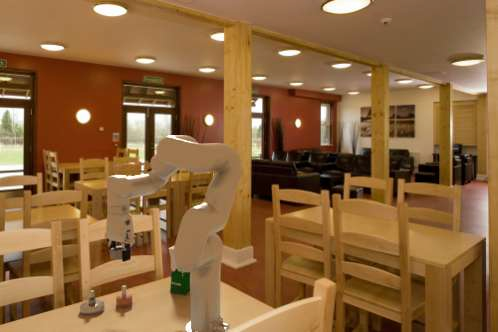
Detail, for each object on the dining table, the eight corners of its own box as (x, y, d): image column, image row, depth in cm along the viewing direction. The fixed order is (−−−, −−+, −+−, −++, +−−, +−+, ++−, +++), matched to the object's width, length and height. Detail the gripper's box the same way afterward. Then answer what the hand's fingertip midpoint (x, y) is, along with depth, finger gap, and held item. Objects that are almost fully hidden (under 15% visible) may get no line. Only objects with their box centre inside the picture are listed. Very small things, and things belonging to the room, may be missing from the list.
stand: (135, 303, 137) (135, 285, 136) (123, 309, 132) (122, 290, 132) (125, 300, 140) (125, 282, 140) (113, 305, 135) (112, 287, 135)
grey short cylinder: (133, 255, 135) (132, 247, 135) (118, 260, 130) (117, 252, 130) (121, 252, 139) (121, 244, 138) (106, 257, 133) (106, 249, 133)
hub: (109, 308, 133) (108, 289, 133) (89, 317, 126) (88, 297, 126) (95, 303, 138) (95, 284, 137) (75, 311, 131) (74, 292, 130)
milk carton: (198, 288, 151) (197, 240, 149) (184, 297, 143) (183, 246, 141) (180, 284, 155) (180, 237, 153) (166, 292, 147) (165, 243, 145)
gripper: (143, 210, 131) (144, 260, 133) (112, 205, 141) (113, 251, 142) (125, 214, 125) (126, 266, 126) (94, 208, 135) (96, 256, 136)
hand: (119, 258), depth 134 cm, fingers closed on grey short cylinder, 6 cm apart
